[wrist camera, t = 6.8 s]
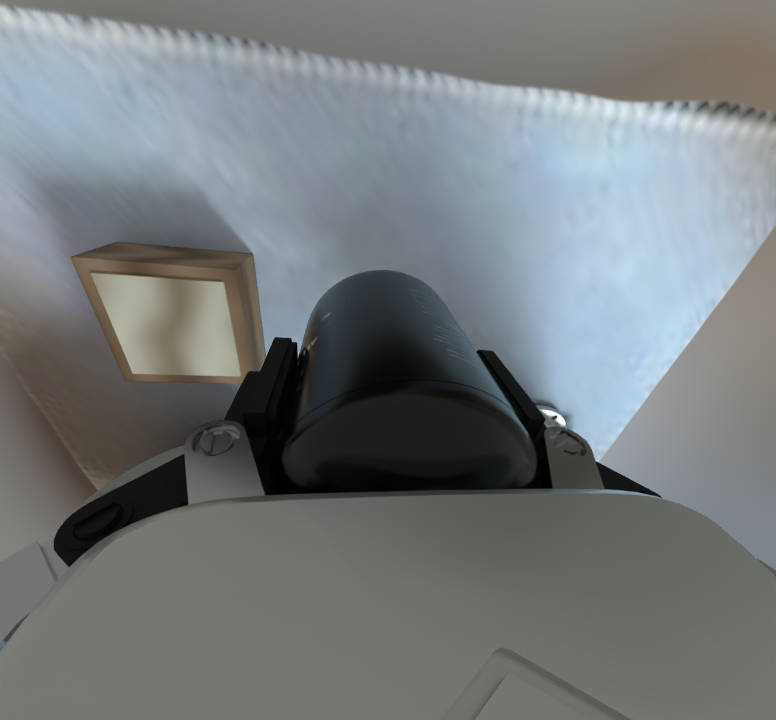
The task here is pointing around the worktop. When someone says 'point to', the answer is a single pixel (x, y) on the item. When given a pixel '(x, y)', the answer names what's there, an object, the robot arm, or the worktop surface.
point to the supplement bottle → (394, 400)
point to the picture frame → (176, 311)
